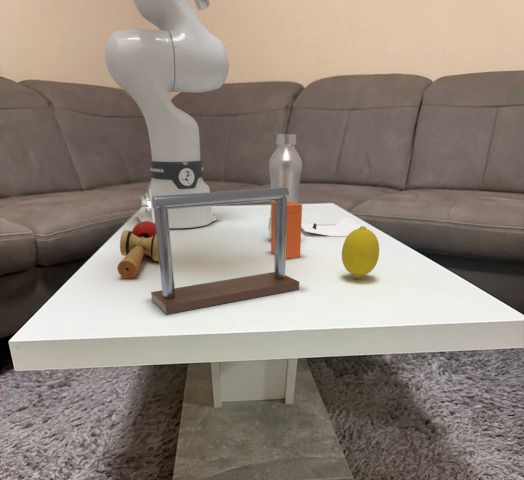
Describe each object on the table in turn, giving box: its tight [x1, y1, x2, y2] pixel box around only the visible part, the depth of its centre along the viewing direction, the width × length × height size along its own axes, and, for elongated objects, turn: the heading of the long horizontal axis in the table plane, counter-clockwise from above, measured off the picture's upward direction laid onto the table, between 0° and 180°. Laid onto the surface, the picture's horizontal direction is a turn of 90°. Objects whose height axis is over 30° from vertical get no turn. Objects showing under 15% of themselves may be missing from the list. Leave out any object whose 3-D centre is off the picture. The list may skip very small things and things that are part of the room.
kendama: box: [117, 221, 159, 280], centre depth 77 cm, size 8×6×18 cm
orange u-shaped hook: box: [270, 201, 303, 260], centre depth 82 cm, size 5×3×9 cm, turn 30°
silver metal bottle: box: [267, 133, 303, 237], centre depth 90 cm, size 6×7×20 cm
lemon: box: [341, 225, 380, 279], centre depth 69 cm, size 6×6×8 cm
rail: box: [150, 187, 300, 315], centre depth 61 cm, size 6×20×14 cm, turn 120°
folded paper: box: [301, 216, 362, 237], centre depth 103 cm, size 12×12×2 cm
